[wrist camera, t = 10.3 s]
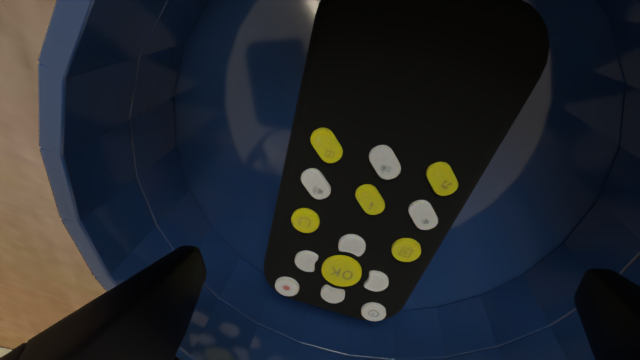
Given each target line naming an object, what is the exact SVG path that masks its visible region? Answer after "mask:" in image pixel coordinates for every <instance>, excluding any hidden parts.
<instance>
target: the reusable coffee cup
mask: <svg viewBox="0 0 640 360" xmlns="http://www.w3.org/2000/svg"><path fill="white" fill-rule="evenodd" d="M10 351H12V350H11V349H6V348H1V347H0V357H2V356H4V355H5V354H7V353H9V352H10Z"/></svg>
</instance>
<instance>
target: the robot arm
mask: <svg viewBox="0 0 640 360" xmlns="http://www.w3.org/2000/svg"><path fill="white" fill-rule="evenodd" d="M206 273H207V271H206V266H205V263H204V260H203V257H202V254H201V251H200V249H199V248H198V247H197V246H188V245H183V246H180V247H178V248H177V249H175V250H174V251H172V252H170V253H169V254H167V255H166V256H164V257H162V258H161V259H159V260H157V261H156V262H154V263H153V264H151V265H149V266H148V267H146V268H145V269H143V270H141V271H140V272H138V273H136V274H135V275H133V276H132V277H130V278H128V279H127V280H125V281H124V282H122V283H120V284H119V285H117V286H115V287H114V288H112V289H111V290H109V291H107V292H106V293H104V294H102V295H101V296H99V297H98V298H96V299H94V300H93V301H91V302H90V303H88V304H86V305H85V306H83V307H81V308H80V309H78V310H77V311H75V312H73V313H72V314H70V315H69V316H67V317H65V318H64V319H62V320H60V321H59V322H57V323H56V324H54V325H52V326H51V327H49V328H47V329H46V330H44V331H43V332H41V333H39V334H38V335H36V336H35V337H33V338H31V339H30V340H28V342H27V343H23V344H21V345H20V346H18V347H17V348H15V349H13V350H12V351H10V352H9V353H7V354H5V355H4V356H2V357H0V360H181V359H179V358H178V357H176V356H175V355H176V353H177V351H178V349H179V347H180V345H181V343H182V341H183V338H184V336H185V334H186V331H187V329H188V326H189V324H190V321H191V318H192V315H193V312H194V310H195V307H196V304H197V301H198V298H199V296H200V293H201V290H202V287H203V284H204V282H205V279H206ZM574 301H575V306H576V309H577V311H578V314H579V317H580V320H581V322H582V325H583V328H584V331H585V333H586V336H587V339H588V342H589V344H590V347H591V350H592V352H593V355H594V358H595V360H640V286H638V285H637V284H635V283H633V282H632V281H630V280H629V279H627V278H625V277H624V276H622V275H620V274H619V273H617V272H615V271H613V270H610V269H599V268H590V269H588V270H586V271H585V273H584V275H583V277H582V279H581V282H580V284H579V286H578V288H577V290H576V292H575V296H574Z"/></svg>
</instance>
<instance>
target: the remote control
mask: <svg viewBox="0 0 640 360" xmlns="http://www.w3.org/2000/svg"><path fill="white" fill-rule="evenodd" d="M549 48H550V43H549V34H548V29H547V26H546V24H545V22H544V20H543V18H542V16H541V14H540V13H539V12H538V11H537V10H536V9H535V8H534V7H533V6H532V5H531V4H529V3H527V2H525V1H523V0H320V2H319V5H318V8H317V11H316V14H315V19H314V24H313V29H312V33H311V38H310V43H309V48H308V53H307V57H306V62H305V67H304V72H303V77H302V81H301V86H300V91H299V96H298V101H297V105H296V110H295V115H294V120H293V125H292V129H291V134H290V139H289V144H288V149H287V154H286V158H285V163H284V168H283V173H282V178H281V182H280V187H279V192H278V197H277V202H276V206H275V211H274V216H273V221H272V226H271V230H270V235H269V240H268V245H267V250H266V254H265V259H264V274H265V277H266V280H267V281H268V283H269V284H270V286H271V287H272V288H273V289H274V290H275V291H276V292H278V293H279V294H281V295H283V296H285V297H287V298H290V299H293V300H296V301H300V302H303V303H306V304H310V305H313V306H317V307H320V308H323V309H327V310H330V311H334V312H337V313H340V314H344V315H347V316H351V317H354V318H357V319H361V320H366V321H380V320H385V319H388V318H391V317H393V316H394V315H396V314H397V313H398V312H399V311H400V310H401V309H402V308H403V307H404V305H405V303H406V302H407V300H408V298H409V297H410V295H411V293H412V292H413V290H414V288H415V287H416V285H417V283H418V282H419V280H420V278H421V277H422V275H423V273H424V272H425V270H426V268H427V267H428V265H429V263H430V262H431V260H432V258H433V257H434V255H435V253H436V252H437V250H438V248H439V246H440V245H441V243H442V241H443V240H444V238H445V236H446V235H447V233H448V231H449V230H450V228H451V226H452V225H453V223H454V221H455V220H456V218H457V216H458V215H459V213H460V211H461V210H462V208H463V206H464V205H465V203H466V201H467V200H468V198H469V196H470V195H471V193H472V191H473V190H474V188H475V186H476V185H477V183H478V181H479V180H480V178H481V176H482V175H483V173H484V171H485V170H486V168H487V166H488V164H489V163H490V161H491V159H492V158H493V156H494V154H495V153H496V151H497V149H498V148H499V146H500V144H501V143H502V141H503V139H504V138H505V136H506V134H507V133H508V131H509V129H510V128H511V126H512V124H513V123H514V121H515V119H516V118H517V116H518V114H519V113H520V111H521V109H522V108H523V106H524V104H525V103H526V101H527V99H528V98H529V96H530V94H531V93H532V91H533V89H534V88H535V86H536V84H537V82H538V81H539V79H540V77H541V75H542V73H543V70H544V68H545V66H546V64H547V59H548V53H549Z"/></svg>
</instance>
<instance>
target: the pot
mask: <svg viewBox="0 0 640 360" xmlns="http://www.w3.org/2000/svg"><path fill="white" fill-rule="evenodd" d="M523 1H525V2H527V3H529V4H531V5H532V6H533V7H534V8H535V9H536V10H537V11H538V12H539V13H540V14H541V16H542V18H543V20H544V22H545V24H546V26H547V29H548V34H549V43H550V48H549V53H548V59H547V64H546V66H545V68H544V70H543V73H542V75H541V77H540V79H539V81H538V82H537V84H536V86H535V88H534V89H533V91H532V93H531V94H530V96H529V98H528V99H527V101H526V103H525V104H524V106H523V108H522V109H521V111H520V113H519V114H518V116H517V118H516V119H515V121H514V123H513V124H512V126H511V128H510V129H509V131H508V133H507V134H506V136H505V138H504V139H503V141H502V143H501V144H500V146H499V148H498V149H497V151H496V153H495V154H494V156H493V158H492V159H491V161H490V163H489V164H488V166H487V168H486V170H485V171H484V173H483V175H482V176H481V178H480V180H479V181H478V183H477V185H476V186H475V188H474V190H473V191H472V193H471V195H470V196H469V198H468V200H467V201H466V203H465V205H464V206H463V208H462V210H461V211H460V213H459V215H458V216H457V218H456V220H455V221H454V223H453V225H452V226H451V228H450V230H449V231H448V233H447V235H446V236H445V238H444V240H443V241H442V243H441V245H440V246H439V248H438V250H437V252H436V253H435V255H434V257H433V258H432V260H431V262H430V263H429V265H428V267H427V268H426V270H425V272H424V273H423V275H422V277H421V278H420V280H419V282H418V283H417V285H416V287H415V288H414V290H413V292H412V293H411V295H410V297H409V298H408V300H407V302H406V303H405V305H404V307H403V308H402V309H401V310H400V311H399V312H398V313H397V314H396V315H394V316H393V317H391V318H388V319H385V320H380V321H366V320H361V319H357V318H354V317H351V316H347V315H344V314H340V313H337V312H334V311H330V310H327V309H323V308H320V307H317V306H313V305H310V304H306V303H303V302H300V301H296V300H293V299H290V298H287V297H285V296H283V295H281V294H279V293H278V292H276V291H275V290H274V289H273V288H272V287H271V286H270V284H269V283H268V281H267V280H266V277H265V274H264V259H265V254H266V250H267V245H268V240H269V235H270V230H271V226H272V221H273V216H274V211H275V206H276V202H277V197H278V192H279V187H280V182H281V178H282V173H283V168H284V163H285V158H286V154H287V149H288V144H289V139H290V134H291V129H292V125H293V120H294V115H295V110H296V105H297V101H298V96H299V91H300V86H301V81H302V77H303V72H304V67H305V62H306V57H307V53H308V48H309V43H310V38H311V33H312V29H313V24H314V19H315V14H316V11H317V8H318V5H319V2H320V0H57V1H56V4H55V7H54V10H53V13H52V17H51V20H50V23H49V26H48V30H47V33H46V36H45V39H44V42H43V46H42V49H41V52H40V55H39V58H38V61H39V64H38V102H39V146H40V147H41V148H40V152H41V156H42V159H43V162H44V166H45V169H46V172H47V176H48V179H49V182H50V186H51V189H52V192H53V196H54V199H55V202H56V206H57V209H58V212H59V216H60V218H62V222H63V224H64V226H65V228H66V229H67V231H68V233H69V234H70V236H71V238H72V240H73V241H74V243H75V245H76V247H77V248H78V250H79V252H80V253H81V255H82V257H83V259H84V260H85V262H86V264H87V266H88V267H89V269H90V271H91V272H92V274H93V275H94V276H95V279H96V280H97V281H98V282H99V283H100V284H101V285H102V286H103V288H104V289H105V290H106V291H109V290H111V289H112V288H114V287H115V286H117V285H119V284H120V283H122V282H124V281H125V280H127V279H128V278H130V277H132V276H133V275H135V274H136V273H138V272H140V271H141V270H143V269H145V268H146V267H148V266H149V265H151V264H153V263H154V262H156V261H157V260H159V259H161V258H162V257H164V256H166V255H167V254H169V253H170V252H172V251H174V250H175V249H177V248H178V247H180V246H183V245H188V246H197V247H198V248H199V249H200V251H201V254H202V257H203V260H204V263H205V266H206V271H207V273H206V279H205V282H204V284H203V287H202V290H201V293H200V296H199V298H198V301H197V304H196V307H195V310H194V312H193V315H192V318H191V321H190V324H189V326H188V329H187V331H186V334H185V336H184V338H183V341H182V343H181V345H180V347H179V349H178V351H177V353H176V355H175V356H176V357H178V358H179V359H181V360H595V358H594V355H593V352H592V350H591V347H590V344H589V342H588V339H587V336H586V333H585V331H584V328H583V325H582V322H581V320H580V317H579V314H578V311H577V309H576V306H575V301H574V296H575V292H576V290H577V288H578V286H579V284H580V282H581V279H582V277H583V275H584V273H585V271H586V270H588V269H590V268H599V269H610V270H613V271H615V272H617V273H619V274H620V275H622V276H624V277H625V278H627V279H629V280H630V281H632V282H633V283H635V284H637V285H638V286H640V0H523Z"/></svg>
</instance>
